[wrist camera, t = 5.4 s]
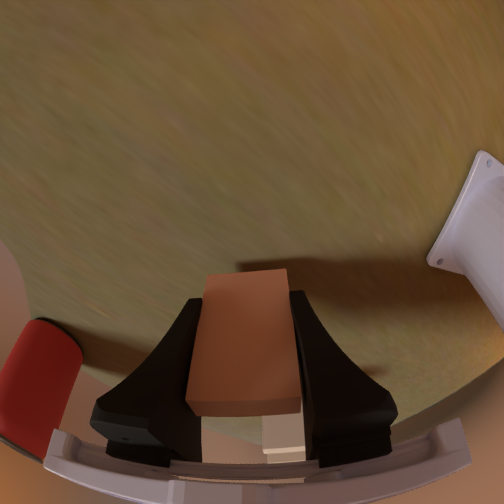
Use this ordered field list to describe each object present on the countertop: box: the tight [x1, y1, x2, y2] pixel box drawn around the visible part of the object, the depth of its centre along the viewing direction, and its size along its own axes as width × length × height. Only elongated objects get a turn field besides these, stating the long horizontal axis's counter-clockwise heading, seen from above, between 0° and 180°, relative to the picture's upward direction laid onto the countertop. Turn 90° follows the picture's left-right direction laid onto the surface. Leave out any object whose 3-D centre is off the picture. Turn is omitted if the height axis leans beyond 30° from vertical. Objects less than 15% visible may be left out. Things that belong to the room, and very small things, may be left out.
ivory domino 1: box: [262, 400, 305, 454], centre depth 20 cm, size 2×4×7 cm, turn 96°
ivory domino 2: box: [267, 451, 306, 464], centre depth 22 cm, size 2×4×7 cm, turn 97°
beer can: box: [0, 319, 83, 464], centre depth 16 cm, size 7×7×12 cm
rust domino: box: [185, 269, 302, 417], centre depth 12 cm, size 2×4×7 cm, turn 97°
